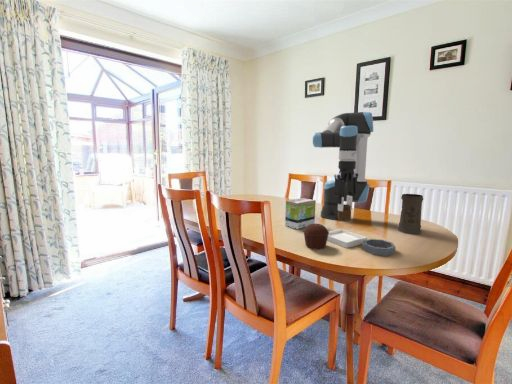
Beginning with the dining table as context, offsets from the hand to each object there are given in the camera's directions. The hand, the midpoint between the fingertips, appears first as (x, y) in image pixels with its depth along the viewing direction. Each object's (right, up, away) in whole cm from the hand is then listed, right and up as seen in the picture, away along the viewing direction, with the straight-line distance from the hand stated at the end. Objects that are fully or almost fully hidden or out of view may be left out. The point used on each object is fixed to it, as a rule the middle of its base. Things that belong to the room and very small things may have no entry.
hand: (344, 209), depth 130 cm
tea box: (-17, -11, +28) cm, 35 cm away
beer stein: (+40, -12, +19) cm, 46 cm away
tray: (0, -15, +2) cm, 15 cm away
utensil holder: (0, -5, +1) cm, 5 cm away
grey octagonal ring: (+11, -17, -10) cm, 23 cm away
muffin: (-15, -16, -5) cm, 23 cm away
